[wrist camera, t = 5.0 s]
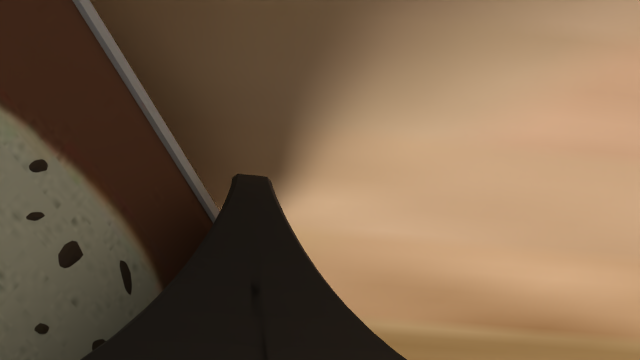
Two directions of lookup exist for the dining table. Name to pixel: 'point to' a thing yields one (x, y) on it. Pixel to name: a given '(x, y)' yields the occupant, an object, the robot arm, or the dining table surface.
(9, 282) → the food container
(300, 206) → the dining table surface
